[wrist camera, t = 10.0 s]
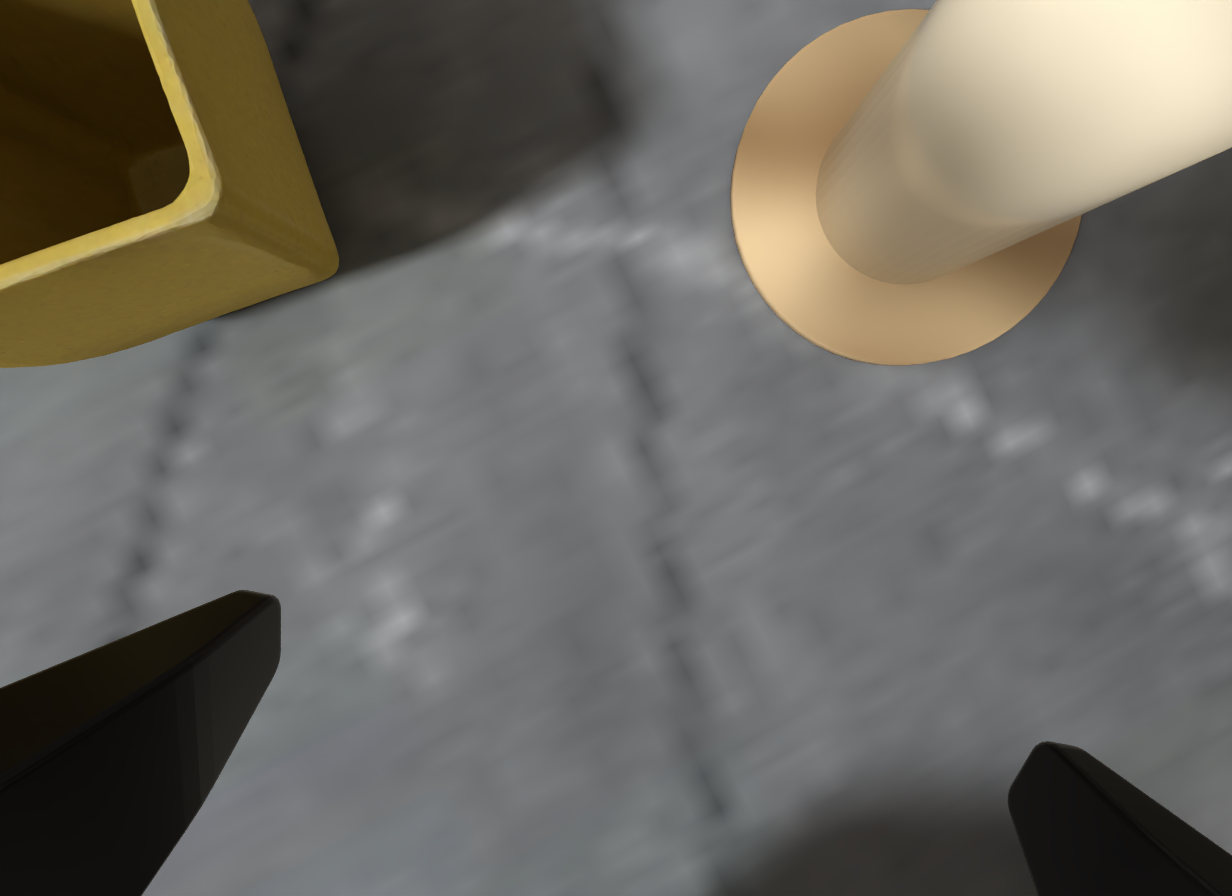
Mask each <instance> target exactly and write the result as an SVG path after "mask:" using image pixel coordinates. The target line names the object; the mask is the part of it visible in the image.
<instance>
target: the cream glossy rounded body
mask: <svg viewBox="0 0 1232 896" xmlns="http://www.w3.org/2000/svg"><path fill="white" fill-rule="evenodd" d="M1230 148H1232V0H937V1H936V3H935V4H934V5H933V7H932V8H931V9H930V11H929V12H928V13H927V15H926V16H925V17H924V19H923V20H922V21H921V23H920V24H919V25H918V27H917V28H916V29H915V31H914V32H913V33H912V35H911V36H910V37H909V39H908V40H907V42H906V43H905V44H904V46H903V47H902V48H901V50H900V51H899V52H898V54H897V55H896V56H895V58H894V59H893V60H892V62H891V63H890V64H889V66H888V67H887V68H886V70H885V71H884V72H883V74H882V75H881V76H880V78H879V79H878V80H877V82H876V83H875V84H874V86H873V87H872V88H871V90H870V91H869V92H868V94H867V95H866V97H865V98H864V99H863V101H862V102H861V103H860V105H859V106H858V107H857V109H856V110H855V111H854V113H853V114H852V115H851V117H850V118H849V119H848V121H847V122H846V123H845V125H844V126H843V127H842V129H841V130H840V131H839V133H838V134H837V135H836V137H835V138H834V140H833V141H832V143H831V144H830V146H829V147H828V149H827V151H826V153H825V155H824V157H823V160H822V163H821V166H820V169H819V172H818V177H817V183H816V207H817V212H818V217H819V221H820V224H821V227H822V229H823V232H824V234H825V236H826V238H827V240H828V241H829V243H830V244H831V246H832V247H833V249H834V250H835V251H836V253H837V254H838V255H839V256H840V257H841V258H842V259H843V260H844V261H845V262H846V263H847V264H848V265H850V266H851V267H852V268H854V269H855V270H857V271H858V272H860V273H862V274H864V275H866V276H868V277H870V278H873V279H876V280H879V281H882V282H887V283H892V284H918V283H923V282H927V281H931V280H934V279H937V278H939V277H942V276H944V275H946V274H949V273H951V272H953V271H955V270H958V269H960V268H962V267H964V266H967V265H969V264H971V263H973V262H976V261H978V260H980V259H982V258H985V257H987V256H989V255H991V254H994V253H996V252H998V251H1000V250H1003V249H1005V248H1007V247H1009V246H1012V245H1014V244H1016V243H1018V242H1021V241H1023V240H1025V239H1027V238H1030V237H1032V236H1034V235H1036V234H1039V233H1041V232H1043V231H1045V230H1048V229H1050V228H1052V227H1054V226H1057V225H1059V224H1061V223H1063V222H1066V221H1068V220H1070V219H1072V218H1074V217H1077V216H1079V215H1081V214H1083V213H1086V212H1088V211H1090V210H1092V209H1095V208H1097V207H1099V206H1101V205H1104V204H1106V203H1108V202H1110V201H1113V200H1115V199H1117V198H1119V197H1122V196H1124V195H1126V194H1128V193H1131V192H1133V191H1135V190H1137V189H1140V188H1142V187H1144V186H1146V185H1149V184H1151V183H1153V182H1155V181H1158V180H1160V179H1162V178H1164V177H1167V176H1169V175H1171V174H1173V173H1176V172H1178V171H1180V170H1182V169H1185V168H1187V167H1189V166H1191V165H1194V164H1196V163H1198V162H1200V161H1203V160H1205V159H1207V158H1209V157H1212V156H1214V155H1216V154H1218V153H1221V152H1223V151H1225V150H1227V149H1230Z"/></svg>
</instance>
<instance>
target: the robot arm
mask: <svg viewBox="0 0 1232 896" xmlns="http://www.w3.org/2000/svg"><path fill="white" fill-rule="evenodd" d="M280 653H281V606H280V602H279V600H278V598H276V597H275V596H273V595H269V594H264V593H259V592H254V591H248V590H239V591H236V592H233V593H230V594H228V595H225V596H223V597H220V598H218V599H216V600H213V601H211V602H208V603H206V604H203V605H201V606H199V607H196V608H194V609H191V610H189V611H186V612H184V613H182V614H179V615H177V616H174V617H172V618H169V619H167V620H165V621H162V622H160V623H157V624H155V625H152V626H150V627H148V628H145V629H143V630H140V631H138V632H135V633H133V634H130V635H128V636H126V637H123V638H121V639H118V640H116V641H113V642H111V643H109V644H106V645H104V646H101V647H99V648H96V649H94V650H92V651H89V652H87V653H84V654H82V655H79V656H77V657H75V658H72V659H70V660H67V661H65V662H62V663H60V664H58V665H55V666H53V667H50V668H48V669H45V670H43V671H41V672H38V673H36V674H33V675H31V676H28V677H26V678H24V679H21V680H19V681H16V682H14V683H11V684H9V685H7V686H4V687H2V688H0V896H142V894H143V893H144V891H145V890H146V888H147V887H148V885H149V884H150V882H151V881H152V879H153V878H154V877H155V875H156V874H157V872H158V871H159V869H160V868H161V866H162V865H163V863H164V862H165V860H166V859H167V857H168V856H169V855H170V853H171V852H172V850H173V849H174V847H175V846H176V844H177V843H178V841H179V840H180V838H181V837H182V836H183V834H184V833H185V831H186V830H187V828H188V827H189V825H190V823H191V822H192V820H193V819H194V817H195V816H196V814H197V813H198V811H199V810H200V808H201V807H202V805H203V803H204V801H205V800H206V798H207V796H208V794H209V793H210V791H211V789H212V788H213V786H214V784H215V782H216V780H217V779H218V777H219V775H220V773H221V771H222V770H223V768H224V766H225V764H226V762H227V760H228V759H229V757H230V755H231V753H232V751H233V749H234V748H235V746H236V744H237V742H238V740H239V739H240V737H241V735H242V733H243V731H244V729H245V728H246V726H247V724H248V722H249V720H250V719H251V717H252V715H253V713H254V711H255V709H256V708H257V706H258V704H259V702H260V700H261V699H262V697H263V695H264V693H265V691H266V689H267V688H268V686H269V684H270V682H271V680H272V678H273V677H274V675H275V672H276V670H277V667H278V664H279V660H280ZM1008 806H1009V811H1010V815H1011V818H1012V821H1013V824H1014V826H1015V829H1016V832H1017V835H1018V838H1019V841H1020V844H1021V847H1022V850H1023V853H1024V856H1025V859H1026V862H1027V865H1028V868H1029V871H1030V874H1031V877H1032V880H1033V883H1034V886H1035V889H1036V892H1037V895H1038V896H1232V855H1230V854H1229V853H1228V852H1226V851H1225V850H1223V849H1222V848H1221V847H1219V846H1218V845H1216V844H1215V843H1214V842H1212V841H1211V840H1209V839H1208V838H1207V837H1205V836H1204V835H1202V834H1201V833H1200V832H1198V831H1197V830H1195V829H1194V828H1193V827H1191V826H1190V825H1188V824H1187V823H1186V822H1184V821H1183V820H1181V819H1180V818H1179V817H1177V816H1176V815H1174V814H1173V813H1171V812H1170V811H1169V810H1167V809H1166V808H1164V807H1163V806H1162V805H1160V804H1159V803H1157V802H1156V801H1155V800H1153V799H1152V798H1150V797H1149V796H1148V795H1146V794H1145V793H1143V792H1142V791H1141V790H1139V789H1138V788H1136V787H1135V786H1134V785H1132V784H1131V783H1129V782H1128V781H1127V780H1125V779H1124V778H1122V777H1121V776H1120V775H1118V774H1117V773H1115V772H1114V771H1113V770H1111V769H1110V768H1108V767H1107V766H1106V765H1104V764H1103V763H1101V762H1100V761H1098V760H1097V759H1096V758H1094V757H1093V756H1091V755H1090V754H1089V753H1087V752H1086V751H1084V750H1083V749H1080V748H1078V747H1075V746H1071V745H1066V744H1060V743H1055V742H1049V741H1046V742H1041V743H1039V744H1038V745H1036V746H1035V747H1034V748H1033V750H1032V751H1031V753H1030V755H1029V756H1028V758H1027V760H1026V761H1025V763H1024V765H1023V766H1022V768H1021V770H1020V771H1019V773H1018V775H1017V776H1016V778H1015V780H1014V781H1013V783H1012V785H1011V787H1010V789H1009V793H1008Z"/></svg>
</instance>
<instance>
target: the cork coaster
mask: <svg viewBox="0 0 1232 896" xmlns="http://www.w3.org/2000/svg"><path fill="white" fill-rule="evenodd" d="M929 11H930V10H918V9H907V10H895V11H886V12H882V13H877V14H872V15H868V16H864V17H861V18H858V19H856V20H853V21H850V22H847V23H845V24H842V25H840V26H838V27H836V28H835V29H833V30H831V31H829V32H827V33H825V34H823V35H821V36H820V37H818V38H817V39H816V40H814V41H813V42H811V43H810V44H808V45H807V46H805V47H804V48H803V49H802V50H800V51H799V52H798V53H797V54H796V55H795V56H794V57H793V58H792V59H791V60H789V61H788V62H787V63H786V64H785V65H784V66H783V68H782V69H781V70H780V71H779V72H778V73H777V75H776V76H775V77H774V78H773V79H772V80H771V82H770V83H769V84H768V86H767V88H766V89H765V91H764V92H763V94H762V95H761V97H760V98H759V100H758V101H757V103H756V105H755V107H754V109H753V111H752V114H751V116H750V118H749V120H748V122H747V124H746V127H745V129H744V131H743V134H742V137H741V140H740V143H739V146H738V149H737V152H736V156H735V161H734V166H733V171H732V177H731V192H730V205H731V221H732V226H733V231H734V236H735V241H736V245H737V248H738V251H739V254H740V257H741V260H742V263H743V265H744V267H745V269H746V271H747V273H748V275H749V277H750V279H751V281H752V283H753V285H754V286H755V288H756V289H757V291H758V292H759V294H760V295H761V297H762V298H763V300H764V301H765V302H766V304H767V305H768V306H769V307H770V308H771V309H772V310H773V312H774V313H775V314H776V315H777V316H778V317H779V318H780V319H781V320H782V321H783V322H784V323H786V324H787V325H788V326H789V327H790V328H791V329H792V330H793V331H795V332H796V333H797V334H799V335H800V336H802V337H803V338H805V339H807V340H808V341H810V342H811V343H813V344H814V345H816V346H818V347H820V348H822V349H825V350H827V351H829V352H831V353H833V354H836V355H839V356H842V357H845V358H848V359H851V360H854V361H859V362H864V363H869V364H875V365H891V366H901V365H915V364H923V363H928V362H933V361H938V360H943V359H948V358H952V357H955V356H958V355H961V354H963V353H966V352H969V351H972V350H974V349H976V348H978V347H980V346H982V345H984V344H986V343H989V342H991V341H993V340H994V339H996V338H997V337H999V336H1000V335H1002V334H1003V333H1005V332H1006V331H1008V330H1009V329H1011V328H1012V327H1013V326H1015V325H1016V324H1017V323H1018V322H1019V321H1020V320H1022V319H1023V318H1024V317H1025V316H1026V315H1027V314H1029V313H1030V312H1031V311H1032V309H1033V308H1034V307H1035V306H1036V305H1037V304H1038V303H1039V302H1040V301H1041V299H1042V298H1043V297H1044V296H1045V295H1046V294H1047V292H1048V291H1049V289H1050V288H1051V286H1052V285H1053V283H1054V282H1055V281H1056V279H1057V278H1058V276H1059V274H1060V273H1061V271H1062V269H1063V267H1064V265H1065V263H1066V261H1067V259H1068V257H1069V255H1070V253H1071V250H1072V247H1073V244H1074V242H1075V239H1076V236H1077V233H1078V229H1079V225H1080V220H1081V216H1082V214H1081V215H1079V216H1077V217H1074V218H1072V219H1070V220H1068V221H1066V222H1063V223H1061V224H1059V225H1057V226H1054V227H1052V228H1050V229H1048V230H1045V231H1043V232H1041V233H1039V234H1036V235H1034V236H1032V237H1030V238H1027V239H1025V240H1023V241H1021V242H1018V243H1016V244H1014V245H1012V246H1009V247H1007V248H1005V249H1003V250H1000V251H998V252H996V253H994V254H991V255H989V256H987V257H985V258H982V259H980V260H978V261H976V262H973V263H971V264H969V265H967V266H964V267H962V268H960V269H958V270H955V271H953V272H951V273H949V274H946V275H944V276H942V277H939V278H937V279H934V280H931V281H927V282H923V283H918V284H892V283H887V282H882V281H879V280H876V279H873V278H870V277H868V276H866V275H864V274H862V273H860V272H858V271H857V270H855V269H854V268H852V267H851V266H850V265H848V264H847V263H846V262H845V261H844V260H843V259H842V258H841V257H840V256H839V255H838V254H837V253H836V251H835V250H834V249H833V247H832V246H831V244H830V243H829V241H828V240H827V238H826V236H825V234H824V232H823V229H822V227H821V224H820V221H819V217H818V212H817V207H816V183H817V177H818V172H819V169H820V166H821V163H822V160H823V157H824V155H825V153H826V151H827V149H828V147H829V146H830V144H831V143H832V141H833V140H834V138H835V137H836V135H837V134H838V133H839V131H840V130H841V129H842V127H843V126H844V125H845V123H846V122H847V121H848V119H849V118H850V117H851V115H852V114H853V113H854V111H855V110H856V109H857V107H858V106H859V105H860V103H861V102H862V101H863V99H864V98H865V97H866V95H867V94H868V92H869V91H870V90H871V88H872V87H873V86H874V84H875V83H876V82H877V80H878V79H879V78H880V76H881V75H882V74H883V72H884V71H885V70H886V68H887V67H888V66H889V64H890V63H891V62H892V60H893V59H894V58H895V56H896V55H897V54H898V52H899V51H900V50H901V48H902V47H903V46H904V44H905V43H906V42H907V40H908V39H909V37H910V36H911V35H912V33H913V32H914V31H915V29H916V28H917V27H918V25H919V24H920V23H921V21H922V20H923V19H924V17H925V16H926V15H927V13H928V12H929Z"/></svg>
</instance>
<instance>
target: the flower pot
mask: <svg viewBox="0 0 1232 896" xmlns="http://www.w3.org/2000/svg"><path fill="white" fill-rule="evenodd" d="M338 266H339V256H338V252H337V248H336V245H335V242H334V240H333V237H332V234H331V231H330V229H329V226H328V223H327V221H326V218H325V215H324V212H323V210H322V207H321V204H320V201H319V198H318V195H317V192H316V189H315V186H314V183H313V181H312V178H311V175H310V172H309V169H308V166H307V163H306V160H305V157H304V155H303V152H302V149H301V146H300V143H299V140H298V137H297V134H296V131H295V128H294V125H293V122H292V120H291V117H290V114H289V111H288V108H287V105H286V102H285V99H284V96H283V93H282V90H281V87H280V84H279V81H278V78H277V75H276V72H275V69H274V66H273V63H272V60H271V57H270V54H269V51H268V48H267V45H266V43H265V40H264V37H263V35H262V32H261V30H260V27H259V25H258V22H257V20H256V17H255V15H254V13H253V11H252V8H251V6H250V4H249V2H248V0H0V368H13V367H34V366H47V365H55V364H63V363H69V362H74V361H79V360H84V359H89V358H94V357H99V356H104V355H107V354H111V353H114V352H118V351H121V350H125V349H128V348H131V347H135V346H138V345H141V344H144V343H147V342H150V341H153V340H156V339H158V338H161V337H163V336H166V335H169V334H171V333H174V332H177V331H180V330H182V329H185V328H188V327H191V326H194V325H196V324H199V323H202V322H205V321H207V320H210V319H213V318H216V317H218V316H221V315H224V314H227V313H230V312H233V311H236V310H238V309H241V308H244V307H247V306H250V305H253V304H256V303H259V302H261V301H264V300H267V299H270V298H273V297H276V296H278V295H281V294H284V293H287V292H290V291H293V290H296V289H299V288H302V287H305V286H308V285H311V284H314V283H318V282H320V281H323V280H325V279H327V278H329V277H331V276H332V275H333V274H335V273H336V272H337V270H338Z"/></svg>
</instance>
